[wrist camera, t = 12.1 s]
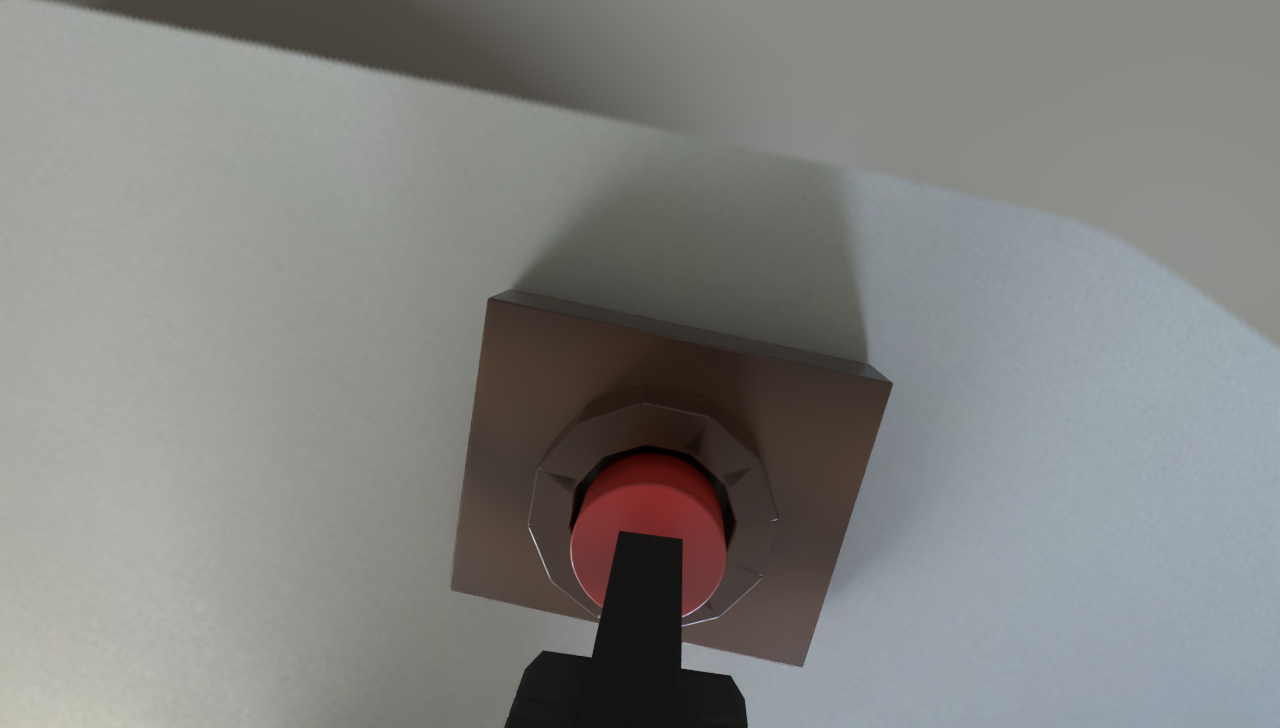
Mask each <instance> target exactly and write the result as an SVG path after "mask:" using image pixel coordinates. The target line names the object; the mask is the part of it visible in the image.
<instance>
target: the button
mask: <svg viewBox="0 0 1280 728" xmlns="http://www.w3.org/2000/svg"><path fill="white" fill-rule="evenodd" d="M619 531H627V532H634V533H642V534H649V535H657V536H664V537H672V538H679V539H683V566H682V617H684V616H686V615H688V614H690V613H692V612H694V611H695V610H697V609H698V608H700V607H701V606H702V605H703V604H705V603H706V602H707V601H708V599H709V598H710V597H711V596H712V595H713V593H714V592H715V591H716V589H717V588H718V586H719V584H720V582H721V580H722V577H723V574H724V571H725V566H726V555H727V553H726V543H725V535H724V526H723V518H722V510H721V505H720V501H719V498H718V496H717V493H716V491H715V489H714V488H713V486H712V484H711V483H710V482H709V480H708V479H707V478H706V477H705V476H704V475H703V474H702V473H701V472H700V471H699V470H698V469H696V468H695V467H694V466H692V465H691V464H689V463H687V462H686V461H684V460H681V459H679V458H677V457H674V456H670V455H667V454H661V453H638V454H634V455H629V456H626V457H624V458H621V459H619V460H617V461H615V462H613V463H611V464H610V465H608V466H607V467H606V468H604V469H603V470H602V471H601V472H600V473H599V474H598V475H597V476H596V478H595V479H594V480H593V482H592V483H591V485H590V487H589V488H588V491H587V493H586V496H585V498H584V501H583V504H582V507H581V509H580V512H579V515H578V518H577V521H576V523H575V526H574V529H573V533H572V536H571V543H570V557H571V562H572V567H573V570H574V573H575V575H576V577H577V579H578V581H579V583H580V585H581V586H582V588H583V589H584V591H585V592H586V593H587V594H588V596H589V597H590V598H591V599H592V600H593V601H594V602H596V603H597V604H598V605H599V606H601V607H602V608H603V603H604V599H605V594H606V589H607V585H608V580H609V576H610V571H611V566H612V562H613V557H614V552H615V548H616V543H617V538H618V534H619Z"/></svg>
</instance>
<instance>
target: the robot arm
mask: <svg viewBox="0 0 1280 728" xmlns="http://www.w3.org/2000/svg"><path fill="white" fill-rule="evenodd" d="M682 566H683V539H679V538H672V537H664V536H657V535H649V534H642V533H634V532H627V531H619V534H618V538H617V543H616V548H615V552H614V557H613V562H612V566H611V571H610V576H609V580H608V585H607V589H606V594H605V599H604V603H603V608H602V613H601V617H600V622H599V627H598V631H597V636H596V640H595V645H594V650H593V654H592V658H591V657H584V656H577V655H570V654H563V653H556V652H549V651H542V652H541V653H540V654H539V655H538V656H537V657H536V658H535V659H534V660H533V661H532V663H531V664H530V665H529V666H528V667H527V668H526V669H525V671H524V673H523V676H522V679H521V682H520V685H519V687H518V690H517V694H516V697H515V699H514V701H513V704H512V707H511V710H510V713H509V717H508V718H507V721H506V724H505V727H504V728H747V727H748V723H747V715H746V706H745V699H744V697H743V696H742V694H741V692H740V690H739V689H738V687H737V685H736V684H735V682H734V680H733V679H732V677H731V676H729V675H722V674H715V673H708V672H701V671H694V670H687V669H681V648H682Z"/></svg>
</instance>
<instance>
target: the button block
mask: <svg viewBox="0 0 1280 728" xmlns="http://www.w3.org/2000/svg"><path fill="white" fill-rule="evenodd" d="M892 386H893V383H892V382H891V381H889V380H888V379H887V378H886V377H885V376H883V375H882V374H881V373H880V372H878V371H877V370H876V369H875V368H874V367H872V366H871V365H869V364H864V363H859V362H855V361H850V360H845V359H840V358H836V357H831V356H826V355H821V354H817V353H812V352H807V351H802V350H797V349H793V348H788V347H783V346H778V345H774V344H769V343H764V342H759V341H755V340H750V339H745V338H740V337H735V336H731V335H726V334H721V333H716V332H712V331H707V330H702V329H697V328H693V327H688V326H683V325H678V324H674V323H669V322H664V321H659V320H654V319H650V318H645V317H640V316H635V315H631V314H626V313H621V312H616V311H612V310H607V309H602V308H597V307H592V306H588V305H583V304H578V303H573V302H569V301H564V300H559V299H554V298H550V297H545V296H540V295H535V294H531V293H526V292H521V291H516V290H511V289H510V290H507V291H504V292H502V293H500V294H497V295H495V296H493V297H490V298H489V299H488V302H487V309H486V317H485V324H484V332H483V339H482V346H481V354H480V361H479V369H478V376H477V384H476V391H475V399H474V406H473V413H472V421H471V428H470V436H469V443H468V451H467V458H466V465H465V473H464V480H463V488H462V495H461V503H460V510H459V517H458V525H457V532H456V540H455V547H454V555H453V562H452V570H451V577H450V584H449V590H452V591H456V592H461V593H465V594H470V595H474V596H479V597H483V598H488V599H492V600H497V601H501V602H506V603H510V604H515V605H519V606H524V607H528V608H533V609H537V610H542V611H546V612H551V613H555V614H560V615H564V616H569V617H573V618H578V619H582V620H587V621H591V622H596V623H599V622H600V617H601V613H602V607H601V606H599V605H598V604H597V603H596V602H594V601H593V600H592V599H591V598H590V597H589V596H588V594H587V593H586V592H585V591H584V589H583V588H582V586H581V585H580V583H579V581H578V579H577V577H576V575H575V573H574V570H573V567H572V562H571V557H570V543H571V536H572V533H573V529H574V526H575V523H576V521H577V518H578V515H579V512H580V509H581V507H582V504H583V501H584V498H585V496H586V493H587V491H588V488H589V487H590V485H591V483H592V482H593V480H594V479H595V478H596V476H597V475H598V474H599V473H600V472H601V471H602V470H603V469H604V468H606V467H607V466H608V465H610V464H611V463H613V462H615V461H617V460H619V459H621V458H624V457H626V456H629V455H634V454H638V453H661V454H667V455H670V456H674V457H677V458H679V459H681V460H684V461H686V462H687V463H689V464H691V465H692V466H694V467H695V468H696V469H698V470H699V471H700V472H701V473H702V474H703V475H704V476H705V477H706V478H707V479H708V480H709V482H710V483H711V484H712V486H713V488H714V489H715V491H716V493H717V496H718V498H719V501H720V505H721V510H722V518H723V526H724V535H725V543H726V553H727V555H726V566H725V571H724V574H723V577H722V580H721V582H720V584H719V586H718V588H717V589H716V591H715V592H714V593H713V595H712V596H711V597H710V598H709V599H708V601H707V602H706V603H705V604H703V605H702V606H701V607H700V608H698V609H697V610H695V611H694V612H692V613H690V614H688V615H686V616H684V617H682V642H685V643H690V644H694V645H699V646H703V647H708V648H712V649H717V650H721V651H726V652H730V653H735V654H739V655H744V656H748V657H753V658H757V659H762V660H766V661H770V662H775V663H779V664H784V665H788V666H793V667H797V668H802V667H803V665H804V662H805V658H806V655H807V652H808V649H809V646H810V643H811V640H812V636H813V633H814V630H815V627H816V624H817V621H818V618H819V615H820V611H821V608H822V605H823V602H824V599H825V596H826V593H827V589H828V586H829V583H830V580H831V577H832V574H833V571H834V568H835V564H836V561H837V558H838V555H839V552H840V549H841V546H842V542H843V539H844V536H845V533H846V530H847V527H848V524H849V521H850V517H851V514H852V511H853V508H854V505H855V502H856V499H857V495H858V492H859V489H860V486H861V483H862V480H863V477H864V474H865V470H866V467H867V464H868V461H869V458H870V455H871V452H872V448H873V445H874V442H875V439H876V436H877V433H878V430H879V427H880V423H881V420H882V417H883V414H884V411H885V408H886V405H887V401H888V398H889V395H890V392H891V389H892Z"/></svg>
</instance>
